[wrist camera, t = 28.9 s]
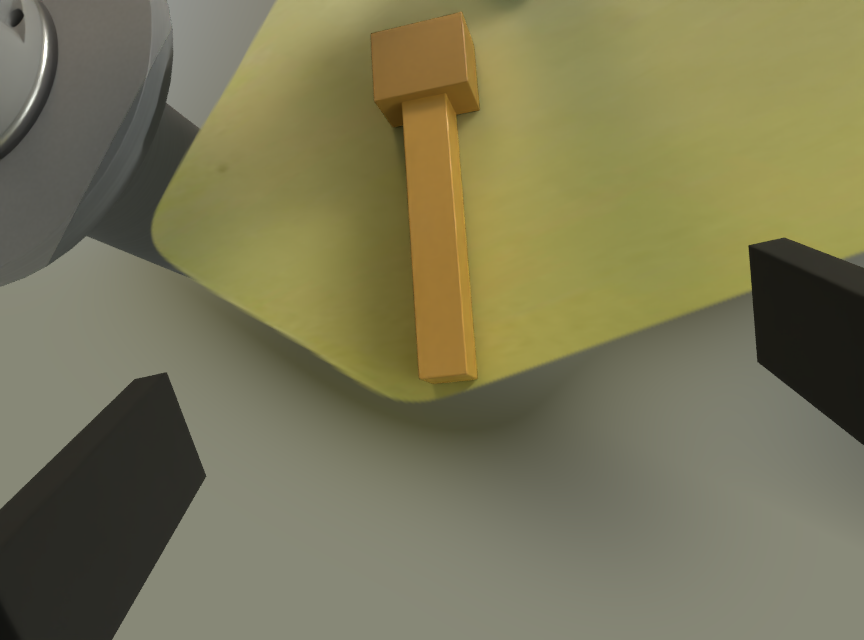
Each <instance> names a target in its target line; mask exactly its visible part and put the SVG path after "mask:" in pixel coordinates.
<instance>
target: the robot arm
mask: <svg viewBox="0 0 864 640" xmlns="http://www.w3.org/2000/svg"><path fill="white" fill-rule="evenodd" d="M57 63H58V38H57V32H56V28H55V24H54V21H53V19H52V16H51V14H50V12H49V10H48V9H47V7H46V6H45V4H44V3H43V2H42V1H41V0H0V160H1V159H2V158H3V157H5V156H6V155H7V154H8V153H9V152H11V151H12V150H13V149H14V148H15V147H16V146H17V145H18V144H19V143H20V142H21V140H22V139H23V138H24V137H25V136H26V134H27V133H28V132H29V131H30V129H31V128H32V126H33V125H34V123H35V122H36V121H37V119H38V117H39V115H40V114H41V112H42V110H43V108H44V106H45V104H46V102H47V99H48V97H49V94H50V92H51V89H52V86H53V83H54V79H55V75H56V70H57ZM749 257H750V270H751V283H752V296H753V310H754V321H755V336H756V349H757V361H758V362H759V363H760V364H761V365H763V366H764V367H765V368H766V369H768V370H769V371H770V372H771V373H773V374H774V375H775V376H776V377H778V378H779V379H780V380H781V381H783V382H784V383H785V384H786V385H788V386H789V387H790V388H792V389H793V390H794V391H795V392H797V393H798V394H799V395H800V396H802V397H803V398H804V399H806V400H807V401H808V402H809V403H811V404H812V405H813V406H814V407H816V408H817V409H818V410H820V411H821V412H822V413H823V414H825V415H826V416H827V417H829V418H830V419H831V420H832V421H834V422H835V423H836V424H837V425H839V426H840V427H841V428H842V429H844V430H845V431H846V432H848V433H849V434H850V435H851V436H853V437H854V438H855V439H856V440H858V441H859V442H860V443H861V444H863V445H864V268H862V267H860V266H857V265H855V264H852V263H849V262H847V261H844V260H842V259H839V258H836V257H834V256H831V255H829V254H826V253H823V252H821V251H818V250H815V249H813V248H810V247H808V246H805V245H802V244H800V243H797V242H795V241H792V240H789V239H787V238H780V239H776V240H771V241H767V242H762V243H757V244H753V245H749ZM205 477H206V474H205V472H204V469H203V467H202V464H201V461H200V459H199V456H198V453H197V451H196V448H195V445H194V443H193V440H192V438H191V435H190V432H189V430H188V427H187V424H186V422H185V419H184V417H183V414H182V412H181V409H180V406H179V403H178V401H177V398H176V395H175V393H174V390H173V388H172V385H171V382H170V380H169V377H168V375H167V373H161V374H157V375H152V376H148V377H143V378H139V379H134V380H133V381H132V382H131V383H130V384H129V385H128V386H127V387H126V388H125V389H124V390H123V391H122V392H121V393H120V394H119V395H118V396H117V397H116V398H115V399H114V400H113V401H112V402H111V403H110V404H109V405H108V406H107V407H105V408H104V409H103V410H102V411H101V412H100V413H99V414H98V415H97V416H96V417H95V418H94V419H93V420H92V421H91V422H90V423H89V424H88V425H87V426H86V427H85V428H84V429H83V430H82V431H81V432H80V433H79V434H78V435H77V436H76V437H74V438H73V439H72V441H70V442H69V443H68V444H67V445H66V446H65V447H64V448H63V449H62V450H61V451H60V452H59V453H58V454H57V455H56V456H55V457H54V458H53V459H52V460H51V461H50V462H49V463H48V464H47V465H46V466H45V467H44V468H43V469H41V470H40V471H39V472H38V473H37V474H36V475H35V476H34V477H33V478H32V479H31V480H30V481H29V482H28V483H27V484H26V485H25V486H24V487H23V488H22V489H21V490H20V491H19V492H18V493H17V494H16V495H15V496H14V497H13V498H12V499H11V500H10V501H8V502H7V503H6V504H5V505H4V506H3V507H2V508H1V509H0V640H112V639H113V637H114V635H115V634H116V632H117V630H118V628H119V627H120V625H121V623H122V621H123V620H124V618H125V616H126V614H127V613H128V611H129V609H130V607H131V606H132V604H133V602H134V600H135V599H136V597H137V595H138V593H139V592H140V590H141V588H142V587H143V585H144V583H145V582H146V580H147V578H148V576H149V574H150V573H151V571H152V569H153V568H154V566H155V564H156V562H157V561H158V559H159V557H160V555H161V554H162V552H163V550H164V549H165V547H166V545H167V543H168V542H169V540H170V538H171V536H172V535H173V533H174V531H175V529H176V528H177V526H178V524H179V523H180V521H181V519H182V517H183V516H184V514H185V512H186V510H187V509H188V507H189V505H190V503H191V502H192V500H193V498H194V497H195V494H196V493H197V491H198V490H199V488H200V486H201V484H202V483H203V481H204V479H205Z"/></svg>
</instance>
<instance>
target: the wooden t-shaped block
mask: <svg viewBox="0 0 864 640" xmlns="http://www.w3.org/2000/svg"><path fill="white" fill-rule="evenodd" d="M371 52H372V71H373V90H374V102H375V103H376V105H377V106H378V107H379V109H380V110H381V112H382V113H383V115H384V116H385V117H386V119H387V120H388V122H389V123H390V125H391V126H392V127H398V126H403V132H404V148H405V165H406V181H407V197H408V213H409V229H410V245H411V261H412V277H413V293H414V309H415V325H416V341H417V357H418V373H419V379H421V380H424V381H426V382H429V383H432V384H438V383H448V382H458V381H468V380H476V379H477V378H478V376H477V364H476V351H475V339H474V327H473V314H472V302H471V290H470V278H469V265H468V253H467V241H466V228H465V216H464V204H463V191H462V179H461V167H460V155H459V142H458V130H457V118H456V115H458V114H463V113H468V112H473V111H478V110H479V109H480V107H479V95H478V84H477V73H476V62H475V51H474V44H473V41H472V38H471V36H470V33H469V30H468V27H467V24H466V22H465V19H464V16H463V13H462V12H458V13H454V14H450V15H446V16H442V17H437V18H433V19H429V20H425V21H421V22H417V23H412V24H408V25H404V26H400V27H396V28H392V29H387V30H383V31H379V32H375V33H371Z"/></svg>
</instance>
